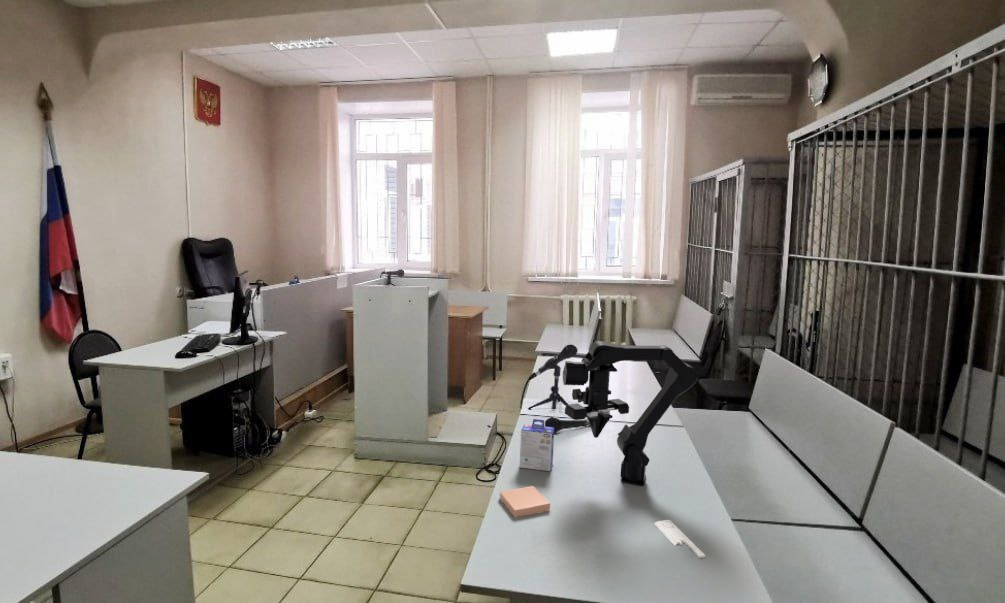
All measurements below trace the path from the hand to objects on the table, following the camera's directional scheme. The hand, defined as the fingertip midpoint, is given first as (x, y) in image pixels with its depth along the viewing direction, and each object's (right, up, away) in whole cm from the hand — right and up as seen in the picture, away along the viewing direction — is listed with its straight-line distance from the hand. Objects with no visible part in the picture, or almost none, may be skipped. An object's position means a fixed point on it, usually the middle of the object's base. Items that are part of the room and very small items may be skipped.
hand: (595, 437), depth 154 cm
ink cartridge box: (-17, -12, +9) cm, 22 cm away
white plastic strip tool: (+15, -18, -27) cm, 36 cm away
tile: (-17, -14, -12) cm, 25 cm away
